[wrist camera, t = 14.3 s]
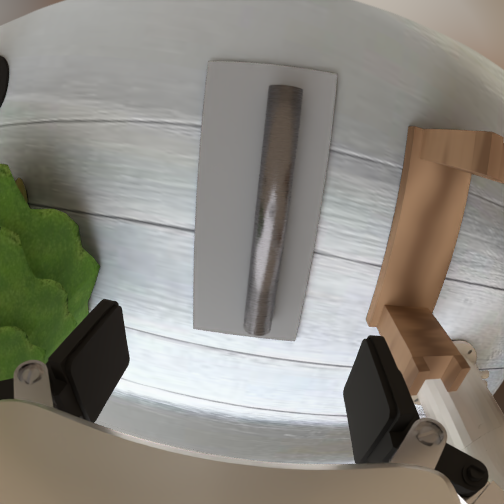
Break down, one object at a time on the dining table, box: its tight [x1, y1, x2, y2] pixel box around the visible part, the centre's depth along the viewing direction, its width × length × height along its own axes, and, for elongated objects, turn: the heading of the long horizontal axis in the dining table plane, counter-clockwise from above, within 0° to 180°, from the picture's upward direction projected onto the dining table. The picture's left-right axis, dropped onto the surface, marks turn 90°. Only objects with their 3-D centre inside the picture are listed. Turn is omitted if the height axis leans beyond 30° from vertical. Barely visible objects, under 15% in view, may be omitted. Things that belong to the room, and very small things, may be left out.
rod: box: [243, 85, 303, 336], centre depth 28 cm, size 24×3×3 cm
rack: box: [366, 126, 504, 396], centre depth 23 cm, size 8×22×12 cm, turn 174°
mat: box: [193, 61, 337, 341], centre depth 29 cm, size 12×29×1 cm, turn 174°
